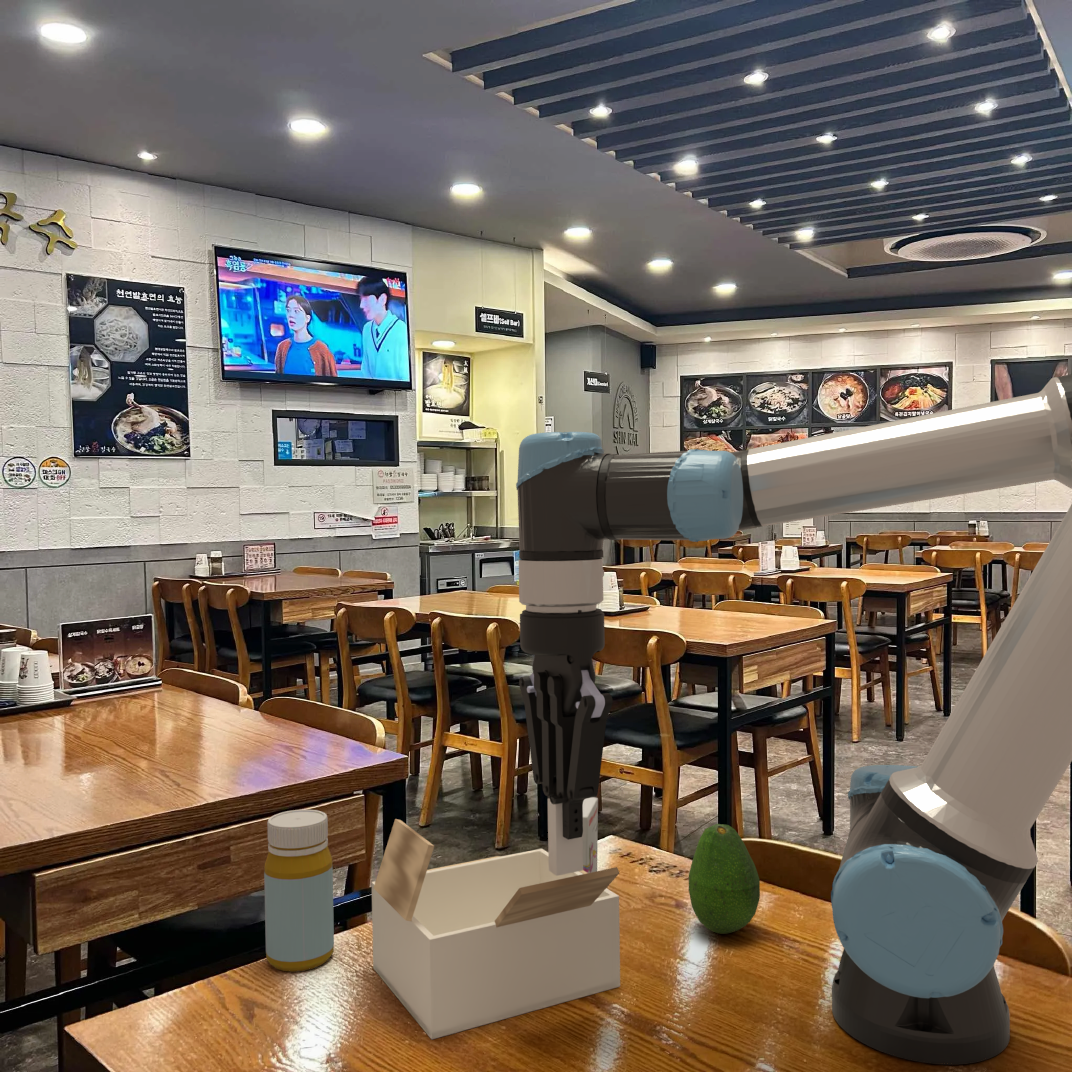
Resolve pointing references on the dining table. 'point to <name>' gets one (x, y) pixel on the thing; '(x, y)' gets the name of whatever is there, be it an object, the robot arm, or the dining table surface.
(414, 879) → the left flap
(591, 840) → the ink box
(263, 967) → the dining table surface
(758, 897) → the fruit
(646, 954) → the dining table surface
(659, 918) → the dining table surface
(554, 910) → the near flap
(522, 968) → the carton
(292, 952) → the bottle
